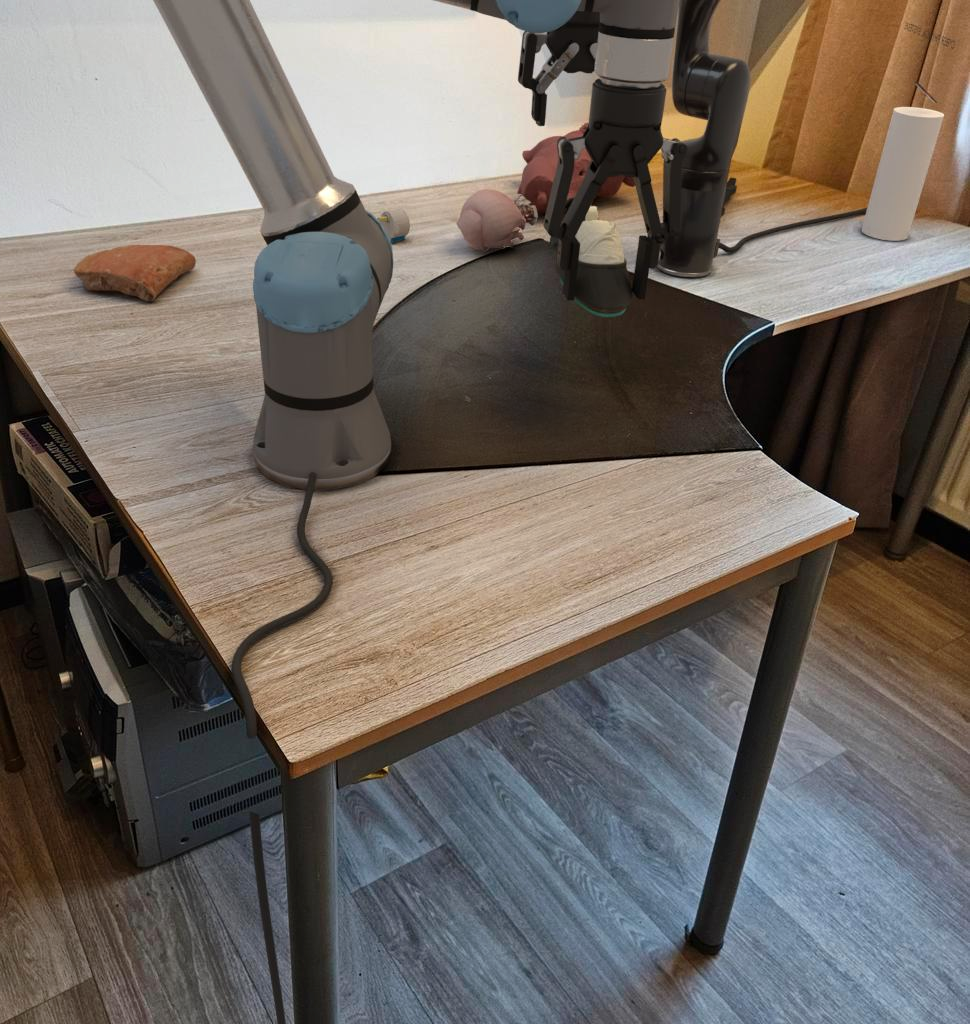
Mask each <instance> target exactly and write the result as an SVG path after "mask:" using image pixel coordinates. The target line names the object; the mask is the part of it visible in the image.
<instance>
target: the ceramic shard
mask: <svg viewBox="0 0 970 1024" xmlns="http://www.w3.org/2000/svg"><path fill="white" fill-rule="evenodd" d="M196 264H197V259H196V257H195V256H194V254H192V253H190V252H189V251H188V250H186V249H184V248H180V247H177V246H174V245H169V244H167V245H166V244H130V245H125V246H123V245H122V246H117V247H114V248H111V249H104V250H102V251H101V250H100V251H98V252H95V253H91V254H88V255H86V256H85V257H83V259H81V260H80V261H79V262H77V264H76V266H75V267H74V269H73V273H74V275H75V276H76V277H77V278H79V279H80V280H81V282H82V283H83V285H84V286H85V288H86V289H87V290H88V291H116V292H117V291H118V292H121V293H123V294H125V295H127V296H134V297H137V298H139V299H141V300H143V301H146V302H152V301H154V300H155V299H156V298H157V297H158V295H160V294H161V292H162V291H163V290H164V289H165V288H166V287H167V286H169V284H171V283H172V282H173V281H175V280H176V279H178V277H179V276H181V275H183V274H184V273H186V272H189V271H192V270H194V269H195V267H196Z"/></svg>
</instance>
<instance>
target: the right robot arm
mask: <svg viewBox="0 0 970 1024" xmlns="http://www.w3.org/2000/svg"><path fill="white" fill-rule="evenodd" d="M721 1H722V0H680V1H679V7H678V14H677V20H676V29H675V31H676V33H675V42H674V44H675V45H674V52H673V61H672V72H671V99H672V103H673V106H674V109H675V110H676V111H677V112H678V113H679V114H681V115H683V116H686V117H691V118H694V119H698V120H699V119H700V120H705V121H707V122H706V125H705V129H704V132H703V133H702V135H701V136H699V137H695V138H689V139H685V140H680V141H681V142H683V143H684V144H685V145H686V146H687V152H686V155H685V158H684V161H683V164H682V166H681V209H680V232H679V234H678V235H677V236H669V237H666V240H665V242H664V243H663V244H661V246H660V253H659V259H658V265H657V267H656V268H657V269H658V270H660V272H663V273H665V274H667V275H670V276H674V277H680V278H681V277H682V278H701V277H705V276H709V275H710V274H711V273H712V271H713V262H714V259H715V258H716V257H718V254H719V249H720V250H722V251H724V252H725V253H728V254H730V253H731V254H732V253H736V252H737V251H738V250H739V249H740V248H741V247H742V246H744V245H745V244H746V243H748V242H750V241H753V240H756V239H759V238H762V237H765V236H769V235H772V234H776V233H779V232H784V231H787V230H792V229H796V228H802V227H806V226H812V225H815V224H821V223H826V222H830V221H836V220H841V219H845V218H851V217H854V216H858V215H863V214H866V211H867V208H868V207H864V208H860V209H856V210H850V211H848V212H842V213H838V214H833V215H827V216H822V217H817V218H812V219H807V220H801V221H798V222H793V223H789V224H785V225H779V226H777V227H773V228H772V227H771V228H769V229H765V230H761V231H758V232H755V233H752V234H749V235H747V236H745V237H743V238H741V239H740V240H739V241H738V242H737V243H736V244H735V245H734V246H731V247H730V246H727V245H726V244H724V243H722V242H721V239H720V238H718V234H719V231H720V225H721V224H720V223H721V219H722V217H721V214H722V208H723V203H724V197H725V192H726V186H727V182H728V180H729V174H730V168H731V165H732V159H733V156H734V154H735V151H736V149H737V146H738V143H739V142H738V141H739V138H740V134H741V128H742V124H743V119H744V116H745V111H746V107H747V102H748V99H749V95H750V89H751V71H750V67H749V65H748V63H747V62H746V61H745V60H743V59H742V58H741V59H740V58H738V57H733V56H732V57H731V56H727V55H722V54H721V55H720V54H715V53H710V47H709V45H710V44H709V43H710V32H711V26H712V21H713V17H714V15H715V13H716V10H717V9H718V6H719V4H720V3H721ZM599 22H600V12H584V11H576V12H575V13H574V15H573V16H572V17H571V18H570V19H569V20H568V21H567V22H566V23H565V24H564V25H562V26H561V27H559V28H557V29H556V30H553V31H550V32H546V33H530V32H526V31H524V32H522V39H521V46H520V56H519V64H518V73H517V82H518V83H519V84H520V86H522V87H523V88H525V89H528V90H531V92H532V93H531V95H532V96H531V111H530V116H531V119H532V120H533V121H534V122H535V124H536V125H537V126H538V127H545V126H546V117H547V103H548V94H547V92H546V91H547V90H548V88H549V87H550V86H551V85H552V83H553V82H554V81H555V80H556V79H558V78H559V76H560V75H561V74H562V72H565V73H567V74H577V73H580V72H581V73H583V74H593V72H594V68H595V59H596V50H597V42H598V33H599V30H598V29H599ZM544 45H545V46H546V47H547V49H548V51H549V53H550V56H549V57H548V59H547V60H546V61H545V63H544V64H543V65H542V67H541V69H540V71H539V73H538V74H537V75H536V76H535V77H534V70H535V61H536V54H538V53H540V52H541V50H542V47H543V46H544ZM594 73H595V72H594Z"/></svg>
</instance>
